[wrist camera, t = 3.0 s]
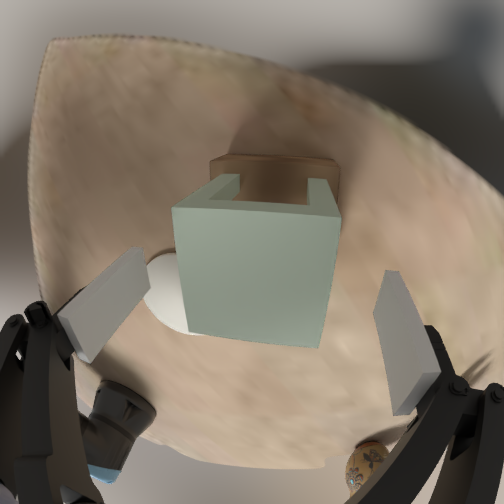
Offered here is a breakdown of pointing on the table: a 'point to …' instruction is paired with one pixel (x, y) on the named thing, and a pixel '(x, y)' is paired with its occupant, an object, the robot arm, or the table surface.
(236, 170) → the walnut box
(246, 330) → the stool
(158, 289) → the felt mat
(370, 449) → the ceramic vessel
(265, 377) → the table surface
